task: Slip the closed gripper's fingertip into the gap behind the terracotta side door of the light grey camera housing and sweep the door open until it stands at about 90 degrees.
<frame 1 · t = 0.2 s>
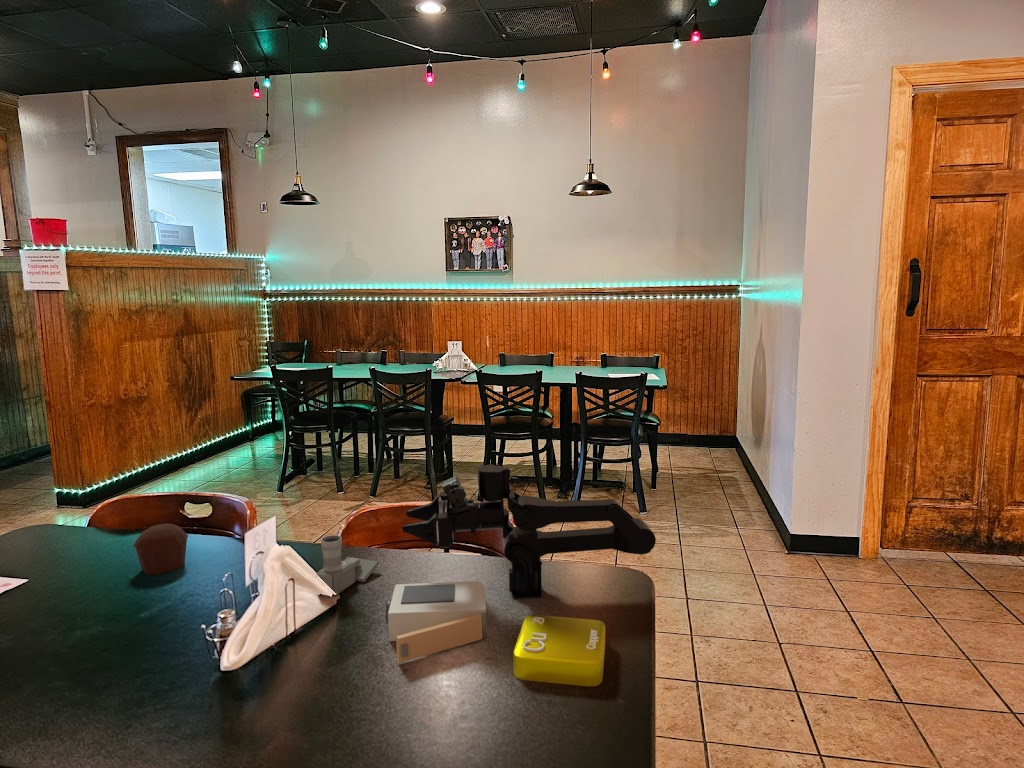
hand: (404, 520, 136), 17 cm above the table, tool horizontal, fingers open, 9 cm apart
camera housing: (439, 623, 127), on the table
side door: (444, 637, 117), point 3 cm above the table, hinge at 25.0°
muffin: (163, 567, 155), on the table
element tile: (560, 661, 115), on the table
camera: (345, 583, 146), on the table
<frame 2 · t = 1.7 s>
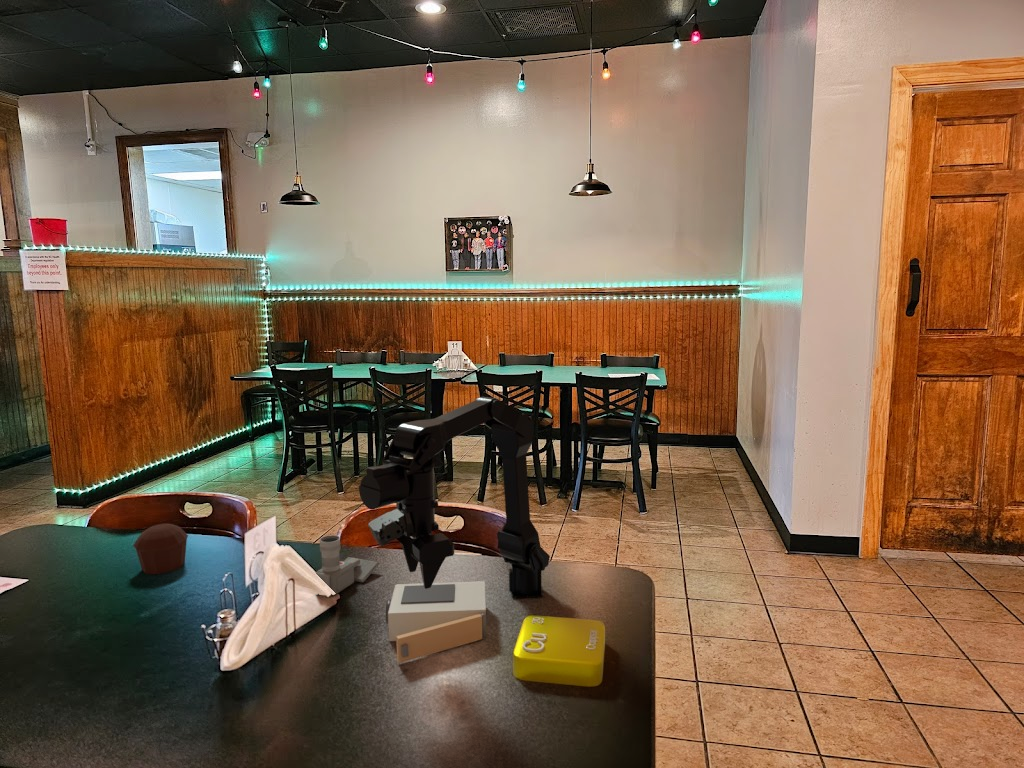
hand: (419, 579, 117), 13 cm above the table, tool pointing down, fingers open, 7 cm apart
nothing on the table moved.
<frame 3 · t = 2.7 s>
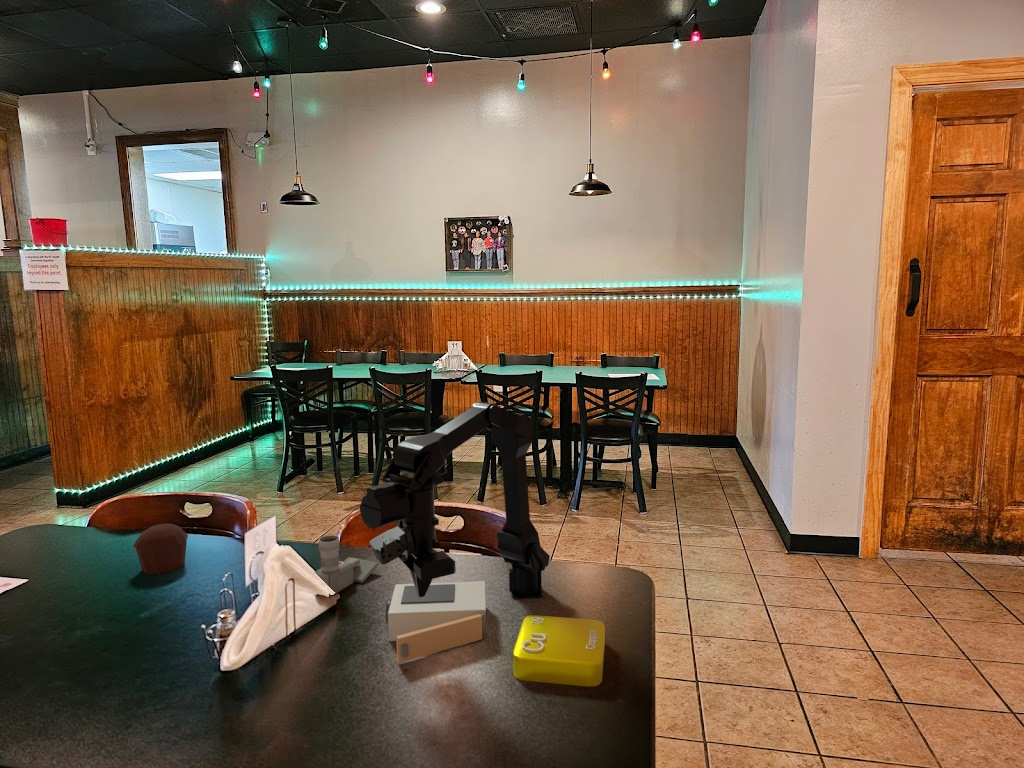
hand: (421, 596, 117), 10 cm above the table, tool pointing down, fingers closed
nothing on the table moved.
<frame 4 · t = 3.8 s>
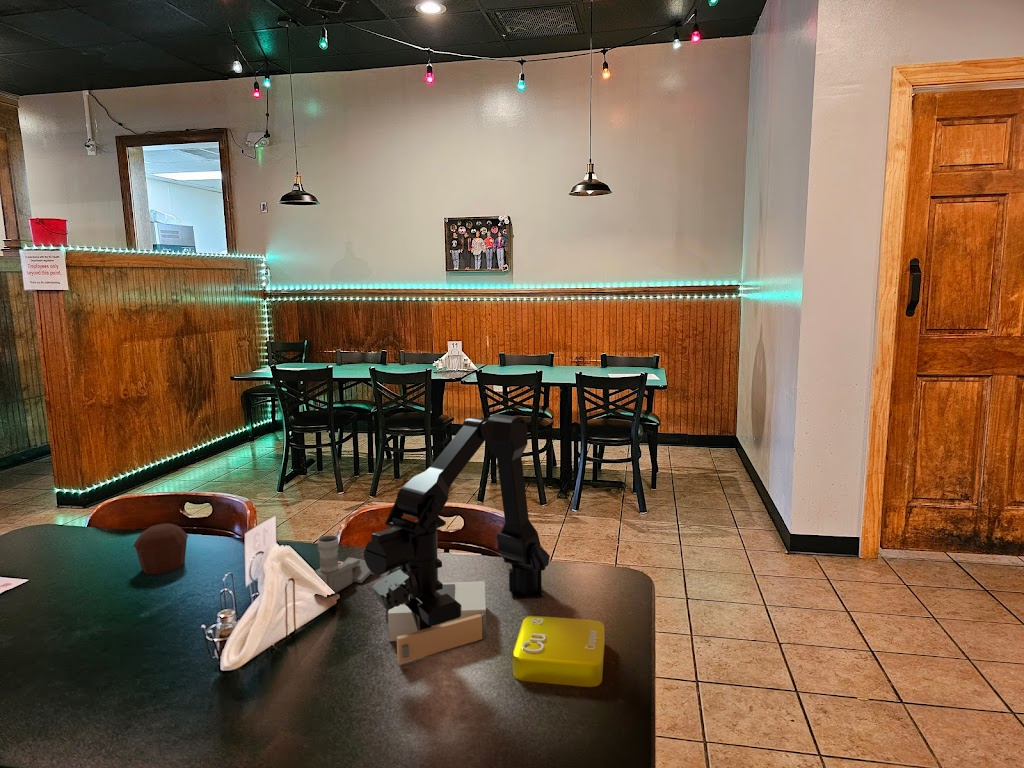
hand: (423, 637, 117), 3 cm above the table, tool pointing down, fingers closed
side door: (444, 638, 117), point 3 cm above the table, hinge at 25.7°, touching gripper
everything else where it was.
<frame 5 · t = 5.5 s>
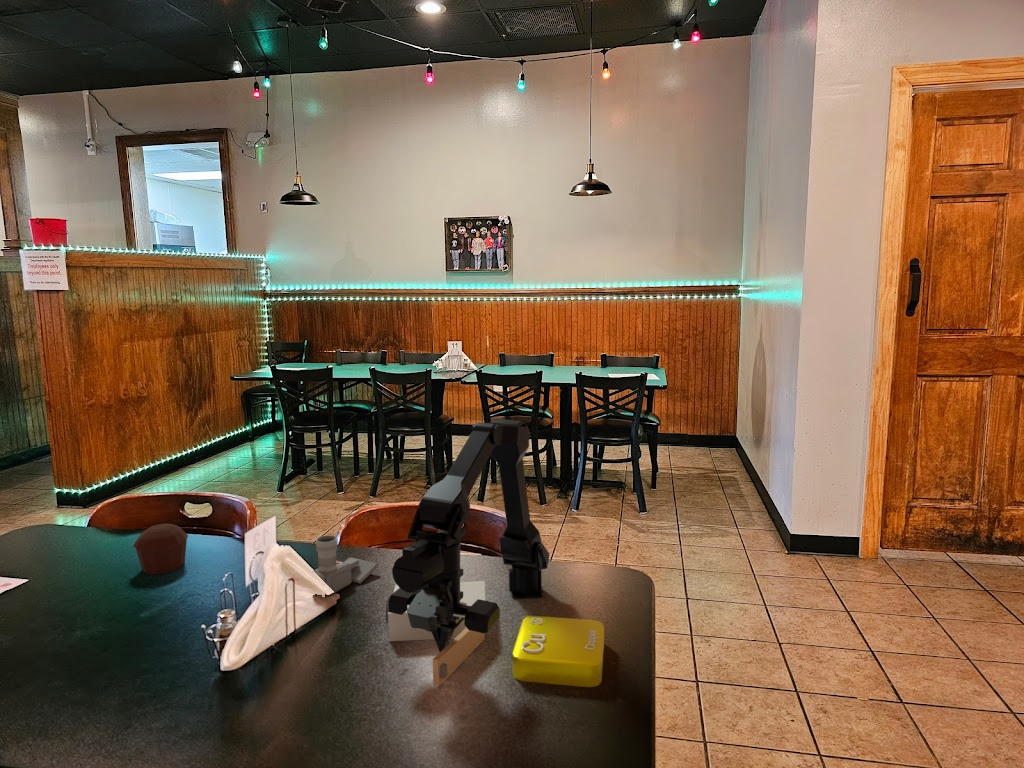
hand: (443, 654, 112), 3 cm above the table, tool pointing down, fingers closed
side door: (463, 647, 113), point 3 cm above the table, hinge at 61.1°, touching gripper
everything else where it was.
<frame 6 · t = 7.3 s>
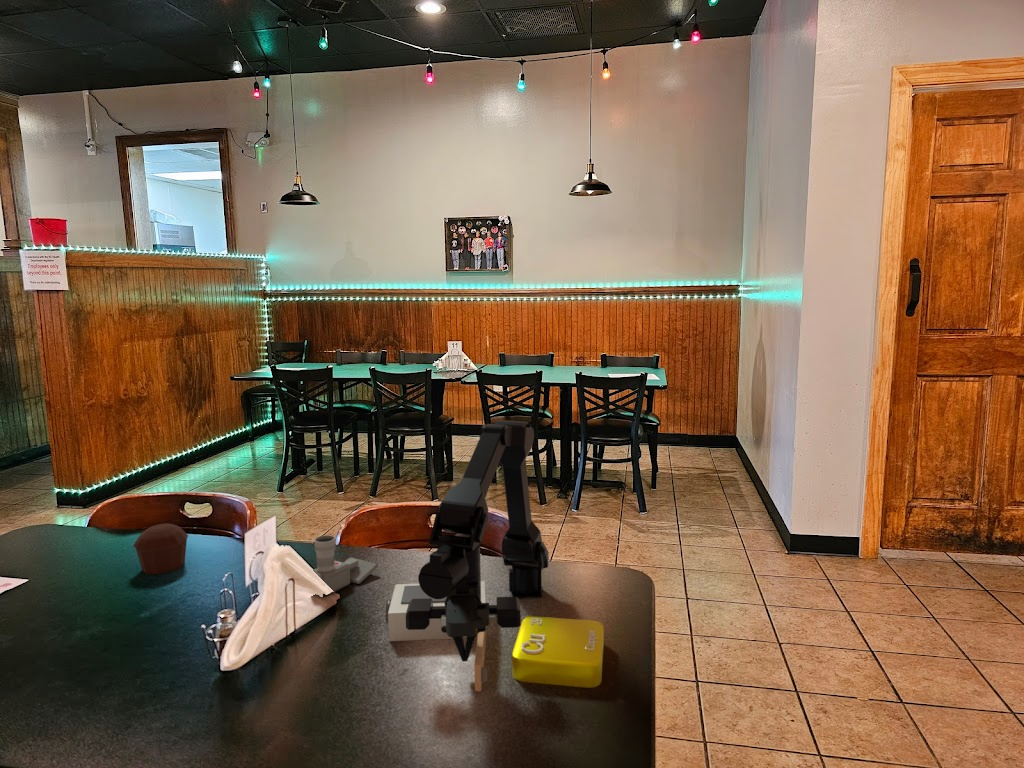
hand: (464, 660, 110), 3 cm above the table, tool pointing down, fingers closed
side door: (483, 649, 113), point 3 cm above the table, hinge at 86.0°
everything else where it was.
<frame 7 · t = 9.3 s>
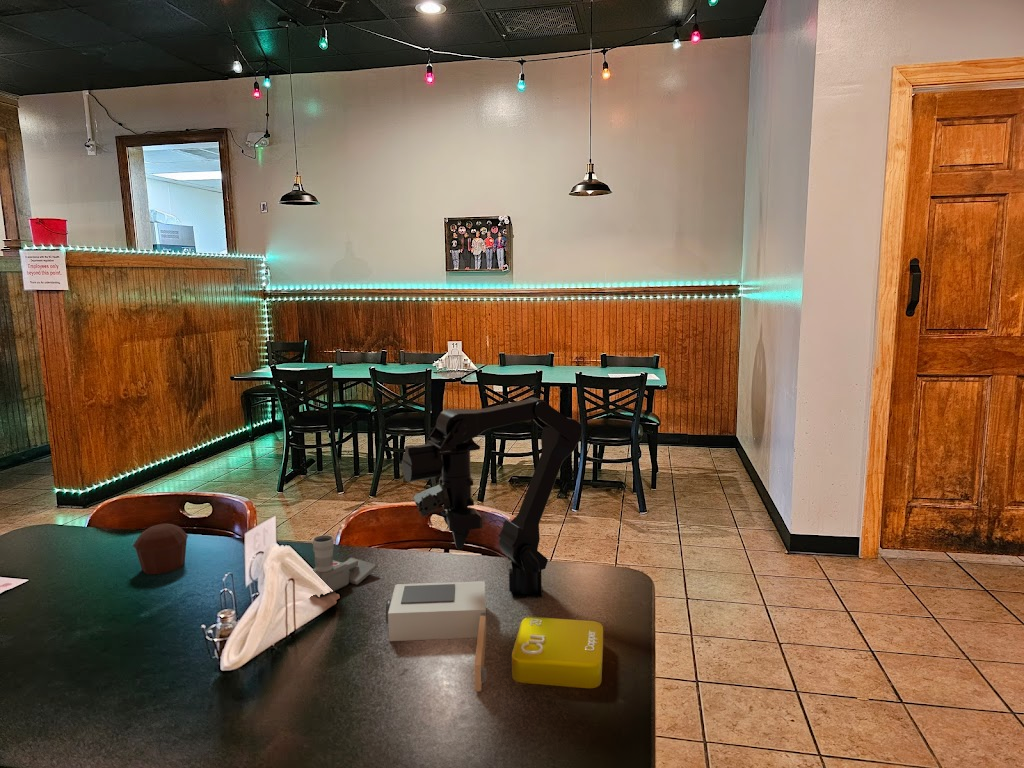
hand: (459, 548, 131), 13 cm above the table, tool pointing down, fingers closed
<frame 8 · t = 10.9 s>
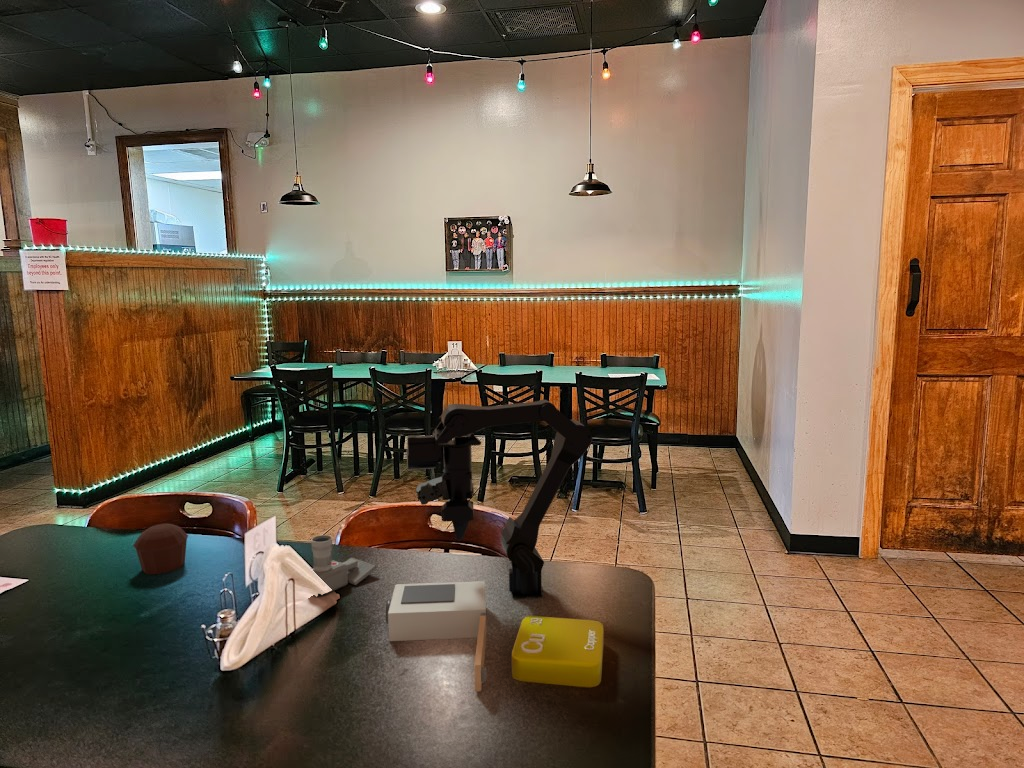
hand: (459, 539, 136), 13 cm above the table, tool pointing down, fingers closed
at the end: side door at +86° (first picture: +25°) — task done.
